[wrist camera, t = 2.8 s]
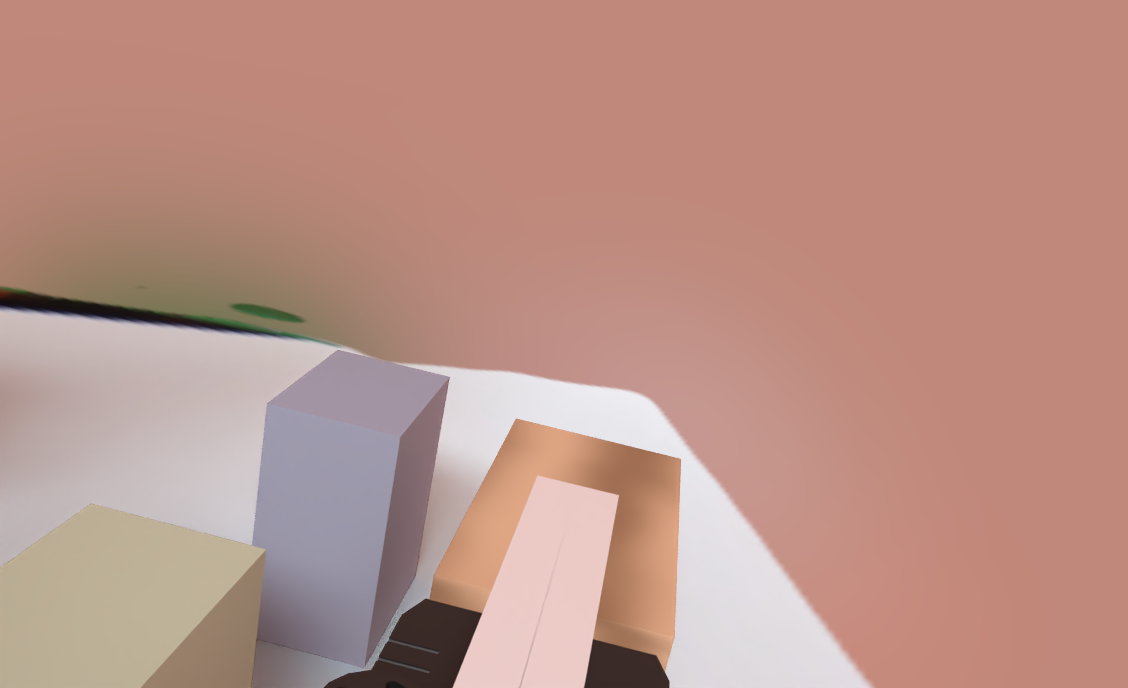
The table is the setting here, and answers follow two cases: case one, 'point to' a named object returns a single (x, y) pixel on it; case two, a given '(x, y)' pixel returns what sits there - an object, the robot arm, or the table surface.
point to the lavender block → (344, 502)
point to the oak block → (638, 543)
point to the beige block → (129, 607)
